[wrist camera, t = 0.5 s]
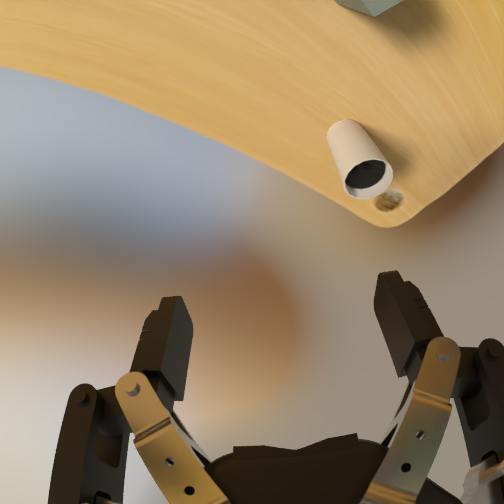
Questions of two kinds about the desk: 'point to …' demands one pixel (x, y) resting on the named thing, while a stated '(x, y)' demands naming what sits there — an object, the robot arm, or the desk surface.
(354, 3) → the grey-green socket block
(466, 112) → the desk surface
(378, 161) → the cream cup
